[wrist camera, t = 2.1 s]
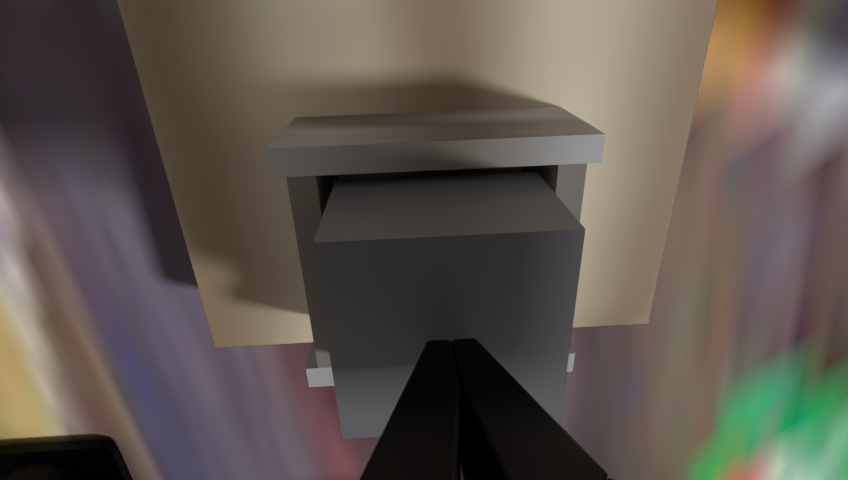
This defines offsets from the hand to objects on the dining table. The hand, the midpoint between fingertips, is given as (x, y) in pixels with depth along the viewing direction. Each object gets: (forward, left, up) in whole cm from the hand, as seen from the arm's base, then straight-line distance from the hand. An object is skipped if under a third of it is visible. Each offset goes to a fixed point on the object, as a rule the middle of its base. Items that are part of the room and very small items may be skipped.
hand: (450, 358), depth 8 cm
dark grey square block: (0, 0, -3) cm, 3 cm away
